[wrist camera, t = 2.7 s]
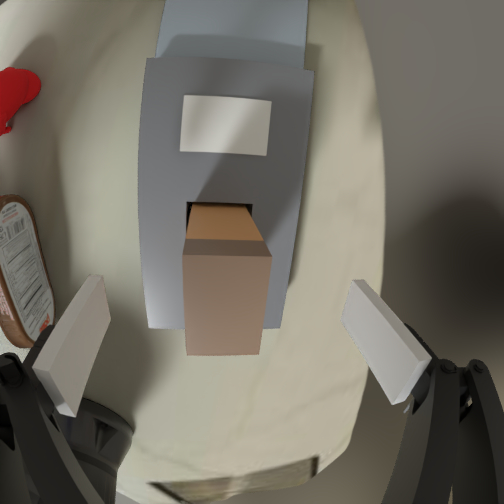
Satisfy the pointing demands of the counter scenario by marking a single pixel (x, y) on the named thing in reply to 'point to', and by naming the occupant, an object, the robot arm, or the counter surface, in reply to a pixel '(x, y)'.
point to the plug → (224, 280)
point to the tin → (22, 275)
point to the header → (218, 165)
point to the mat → (235, 30)
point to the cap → (15, 93)
